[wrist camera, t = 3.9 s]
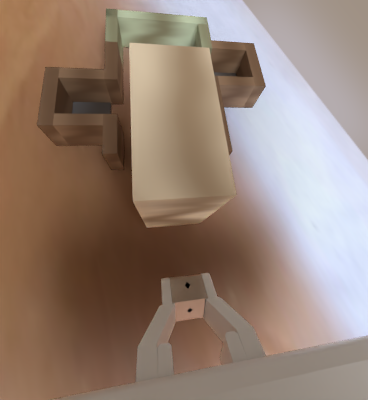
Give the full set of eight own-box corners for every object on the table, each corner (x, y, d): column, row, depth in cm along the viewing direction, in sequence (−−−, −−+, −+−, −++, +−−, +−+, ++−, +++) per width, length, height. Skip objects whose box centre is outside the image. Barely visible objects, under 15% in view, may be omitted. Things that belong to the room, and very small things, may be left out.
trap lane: (53, 171, 17) (32, 155, 14) (68, 36, 22) (54, 3, 19) (266, 164, 20) (283, 149, 17) (237, 47, 25) (247, 21, 22)
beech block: (147, 227, 17) (132, 201, 8) (143, 135, 19) (129, 42, 11) (199, 223, 17) (236, 195, 9) (188, 134, 20) (209, 47, 12)
